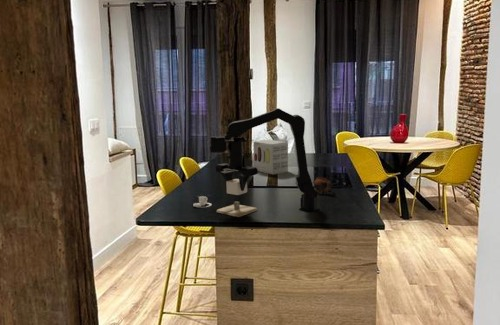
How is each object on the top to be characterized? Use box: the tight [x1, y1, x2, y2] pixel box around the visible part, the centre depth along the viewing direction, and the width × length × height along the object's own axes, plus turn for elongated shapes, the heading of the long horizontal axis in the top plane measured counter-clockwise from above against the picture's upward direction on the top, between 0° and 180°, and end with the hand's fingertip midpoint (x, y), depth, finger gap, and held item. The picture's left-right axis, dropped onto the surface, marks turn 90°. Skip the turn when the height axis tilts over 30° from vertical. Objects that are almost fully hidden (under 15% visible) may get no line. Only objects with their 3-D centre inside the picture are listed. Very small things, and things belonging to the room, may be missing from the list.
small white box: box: [225, 178, 248, 196], centre depth 192 cm, size 6×6×5 cm
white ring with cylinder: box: [192, 195, 212, 208], centre depth 205 cm, size 9×8×4 cm
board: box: [216, 201, 258, 218], centre depth 194 cm, size 12×12×4 cm
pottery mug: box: [312, 176, 332, 195], centre depth 224 cm, size 12×10×8 cm
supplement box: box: [253, 139, 289, 175], centre depth 278 cm, size 17×13×18 cm
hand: (236, 189), depth 193 cm, fingers closed on small white box, 6 cm apart
